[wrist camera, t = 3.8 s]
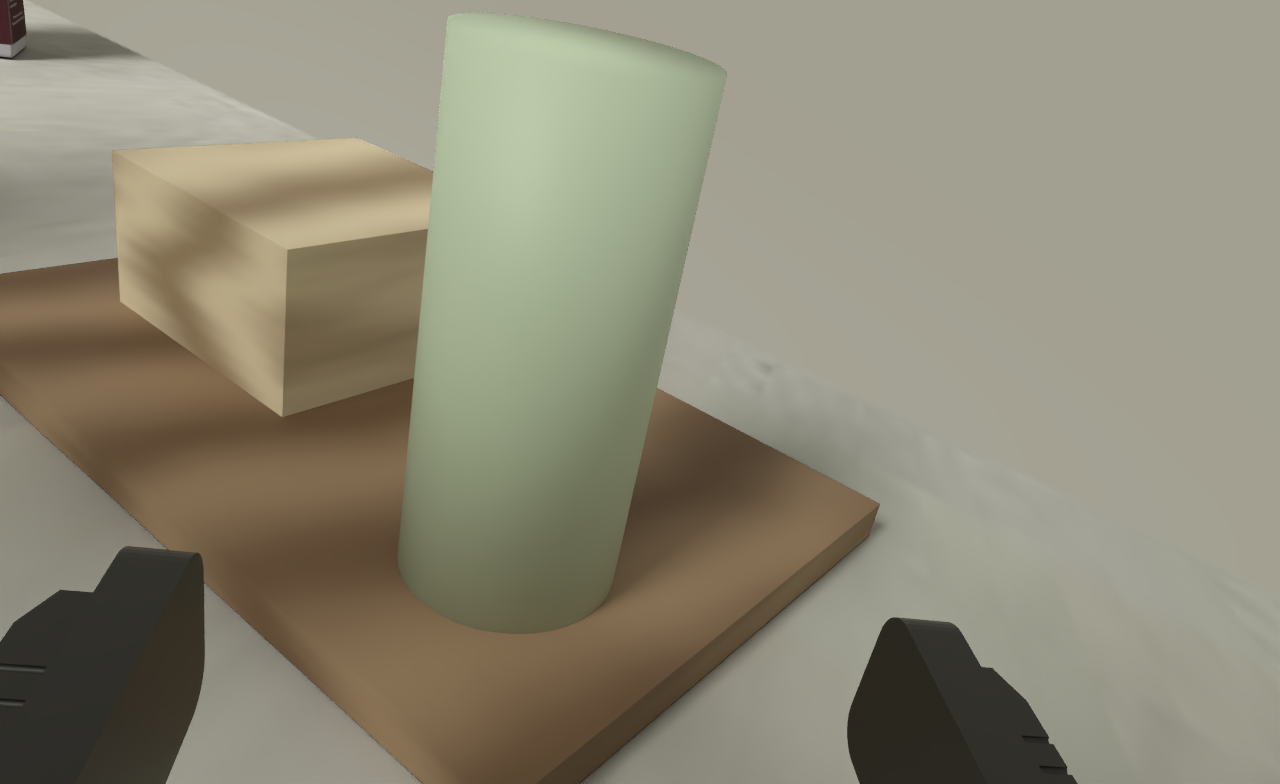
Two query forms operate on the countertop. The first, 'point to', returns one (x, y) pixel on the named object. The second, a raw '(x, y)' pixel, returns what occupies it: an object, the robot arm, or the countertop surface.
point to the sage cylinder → (545, 310)
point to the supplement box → (12, 28)
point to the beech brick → (278, 261)
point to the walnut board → (369, 537)
